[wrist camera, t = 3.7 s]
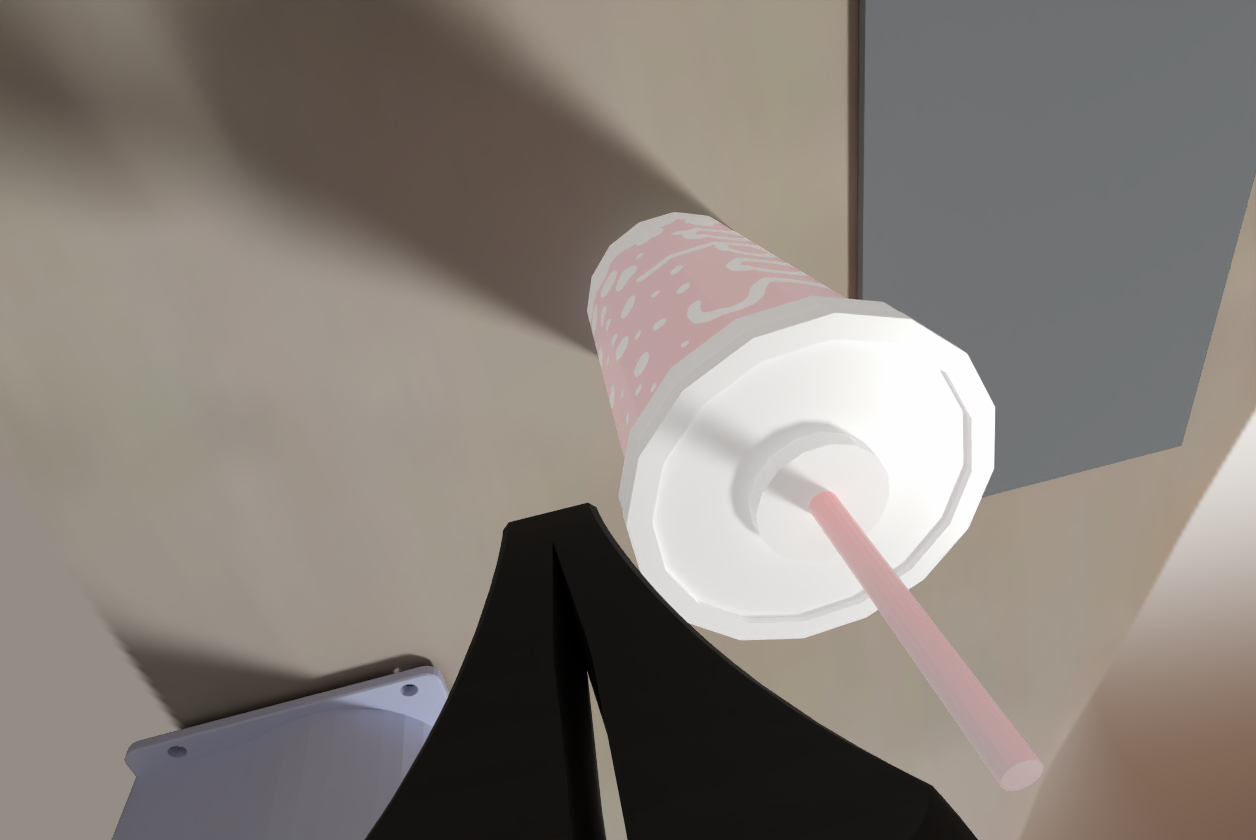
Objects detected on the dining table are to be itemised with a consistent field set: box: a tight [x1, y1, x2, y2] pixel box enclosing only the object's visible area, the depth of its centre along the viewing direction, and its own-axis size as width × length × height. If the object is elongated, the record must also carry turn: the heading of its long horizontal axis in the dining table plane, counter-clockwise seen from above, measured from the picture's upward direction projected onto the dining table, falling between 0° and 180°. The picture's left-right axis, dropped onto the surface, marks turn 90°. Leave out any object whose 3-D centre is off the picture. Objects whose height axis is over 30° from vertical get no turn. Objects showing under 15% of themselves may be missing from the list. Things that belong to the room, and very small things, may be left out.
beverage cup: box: [587, 212, 1043, 791], centre depth 14 cm, size 6×6×14 cm
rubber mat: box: [857, 0, 1256, 498], centre depth 21 cm, size 12×17×1 cm
